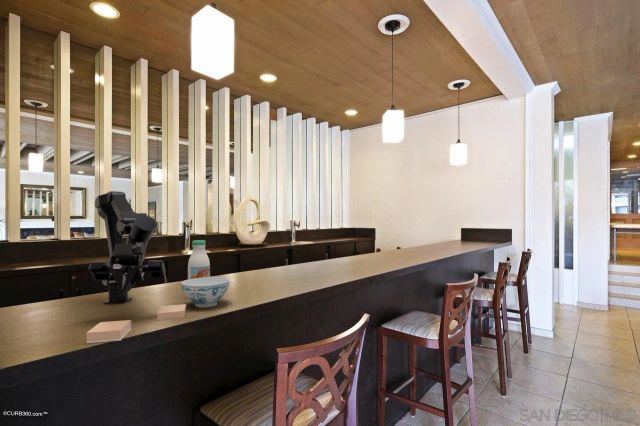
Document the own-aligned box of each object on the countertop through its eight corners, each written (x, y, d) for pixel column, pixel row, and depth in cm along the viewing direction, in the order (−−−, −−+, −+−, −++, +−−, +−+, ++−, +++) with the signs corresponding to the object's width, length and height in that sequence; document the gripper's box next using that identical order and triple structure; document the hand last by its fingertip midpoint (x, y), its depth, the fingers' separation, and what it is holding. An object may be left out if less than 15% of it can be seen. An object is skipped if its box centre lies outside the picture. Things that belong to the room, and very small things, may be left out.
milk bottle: (183, 296, 123) (183, 241, 123) (196, 292, 130) (195, 239, 130) (202, 297, 121) (202, 241, 121) (214, 293, 128) (214, 239, 129)
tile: (100, 322, 85) (86, 332, 78) (131, 320, 87) (120, 330, 79) (100, 331, 85) (86, 343, 78) (131, 329, 87) (120, 340, 79)
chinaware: (239, 302, 114) (239, 279, 114) (203, 313, 101) (203, 287, 101) (208, 297, 121) (208, 275, 122) (171, 307, 109) (171, 282, 109)
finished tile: (161, 314, 102) (161, 306, 102) (186, 311, 104) (186, 304, 104) (157, 321, 95) (157, 313, 95) (184, 319, 97) (184, 310, 97)
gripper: (91, 233, 95) (71, 280, 84) (163, 232, 99) (153, 277, 88) (102, 257, 102) (85, 304, 92) (169, 256, 106) (160, 300, 96)
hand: (121, 296), depth 92 cm, fingers closed
